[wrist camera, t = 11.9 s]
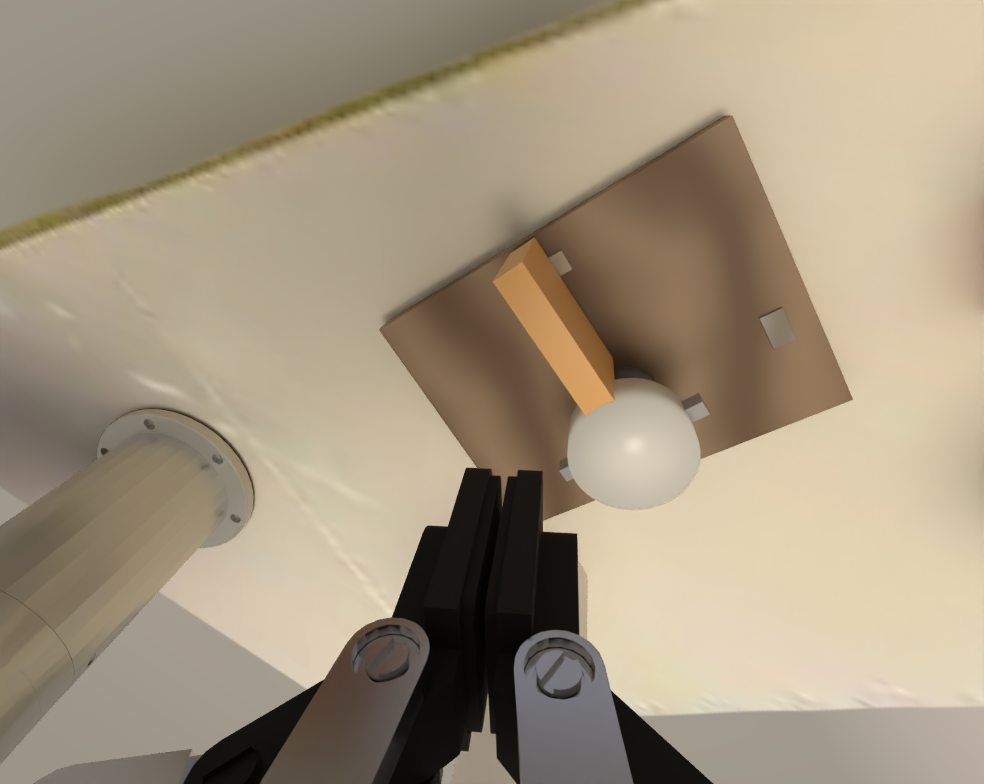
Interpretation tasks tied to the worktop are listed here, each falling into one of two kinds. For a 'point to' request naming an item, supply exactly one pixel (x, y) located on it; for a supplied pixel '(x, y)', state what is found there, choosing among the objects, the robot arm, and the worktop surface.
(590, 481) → the cap
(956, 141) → the worktop surface
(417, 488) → the worktop surface
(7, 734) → the robot arm
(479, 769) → the cylindrical container
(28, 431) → the worktop surface
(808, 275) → the worktop surface
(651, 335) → the post base
